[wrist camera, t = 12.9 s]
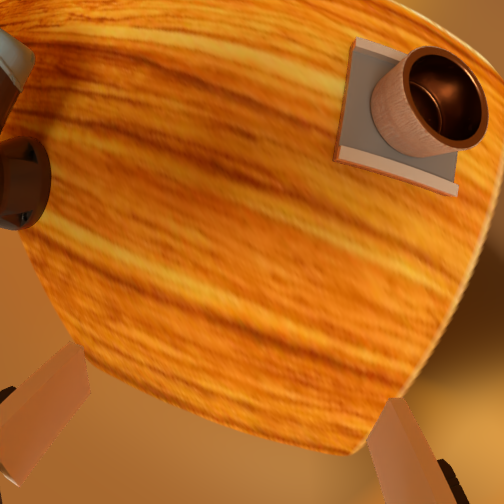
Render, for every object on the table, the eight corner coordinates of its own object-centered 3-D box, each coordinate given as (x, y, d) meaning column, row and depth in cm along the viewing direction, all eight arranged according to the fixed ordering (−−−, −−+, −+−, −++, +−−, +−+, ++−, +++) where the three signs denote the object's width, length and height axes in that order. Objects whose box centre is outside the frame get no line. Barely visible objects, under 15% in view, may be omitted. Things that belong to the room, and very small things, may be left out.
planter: (396, 59, 27) (428, 26, 18) (456, 118, 28) (501, 104, 19) (351, 114, 29) (378, 89, 20) (418, 177, 30) (463, 175, 21)
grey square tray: (332, 161, 33) (338, 158, 29) (350, 48, 29) (356, 36, 26) (443, 195, 32) (457, 196, 29) (453, 89, 29) (466, 83, 25)
